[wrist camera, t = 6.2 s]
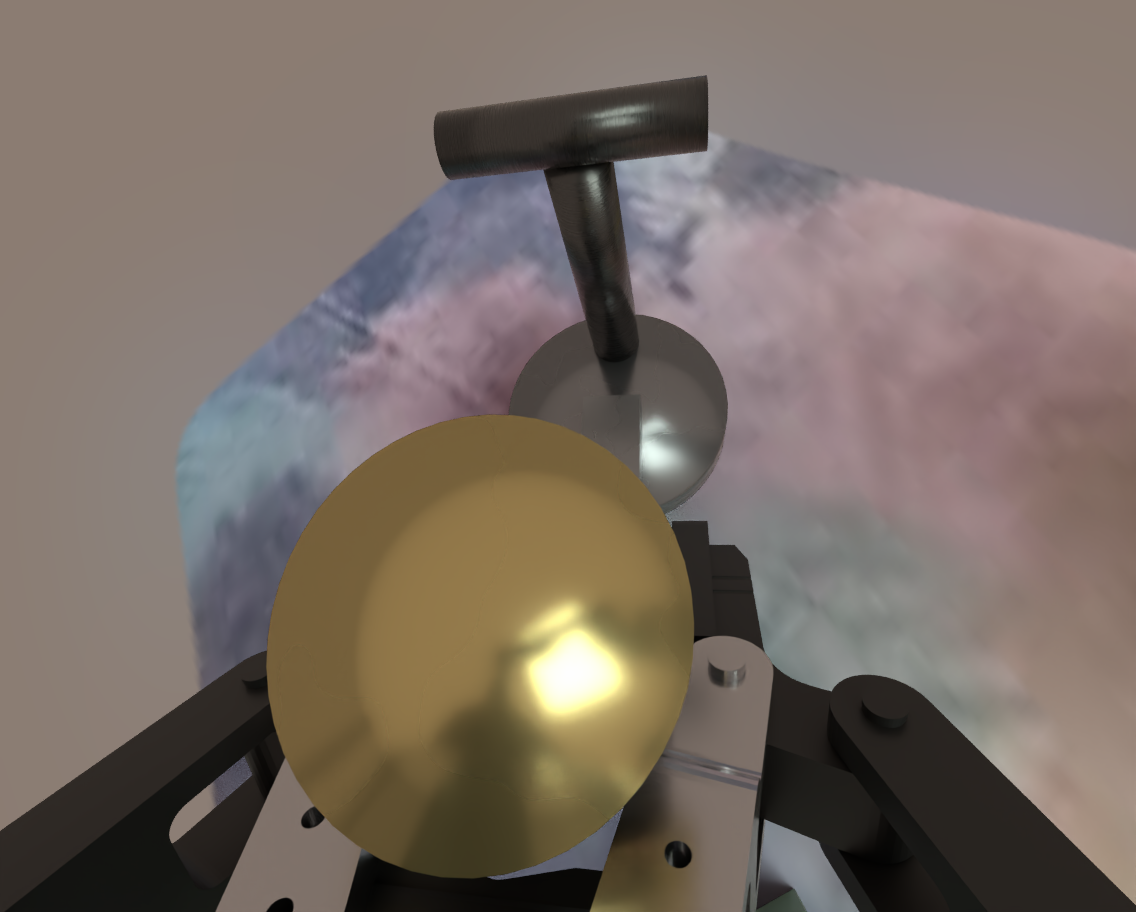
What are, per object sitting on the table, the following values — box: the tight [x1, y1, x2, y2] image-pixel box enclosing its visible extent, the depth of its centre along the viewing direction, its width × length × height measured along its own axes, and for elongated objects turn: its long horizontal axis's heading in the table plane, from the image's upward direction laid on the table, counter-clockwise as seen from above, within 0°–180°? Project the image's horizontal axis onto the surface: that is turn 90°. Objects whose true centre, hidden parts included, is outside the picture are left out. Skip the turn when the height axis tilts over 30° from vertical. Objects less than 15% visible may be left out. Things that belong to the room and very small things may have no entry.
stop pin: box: [266, 415, 694, 878], centre depth 11 cm, size 5×5×13 cm
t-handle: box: [434, 75, 728, 514], centre depth 15 cm, size 7×6×11 cm
